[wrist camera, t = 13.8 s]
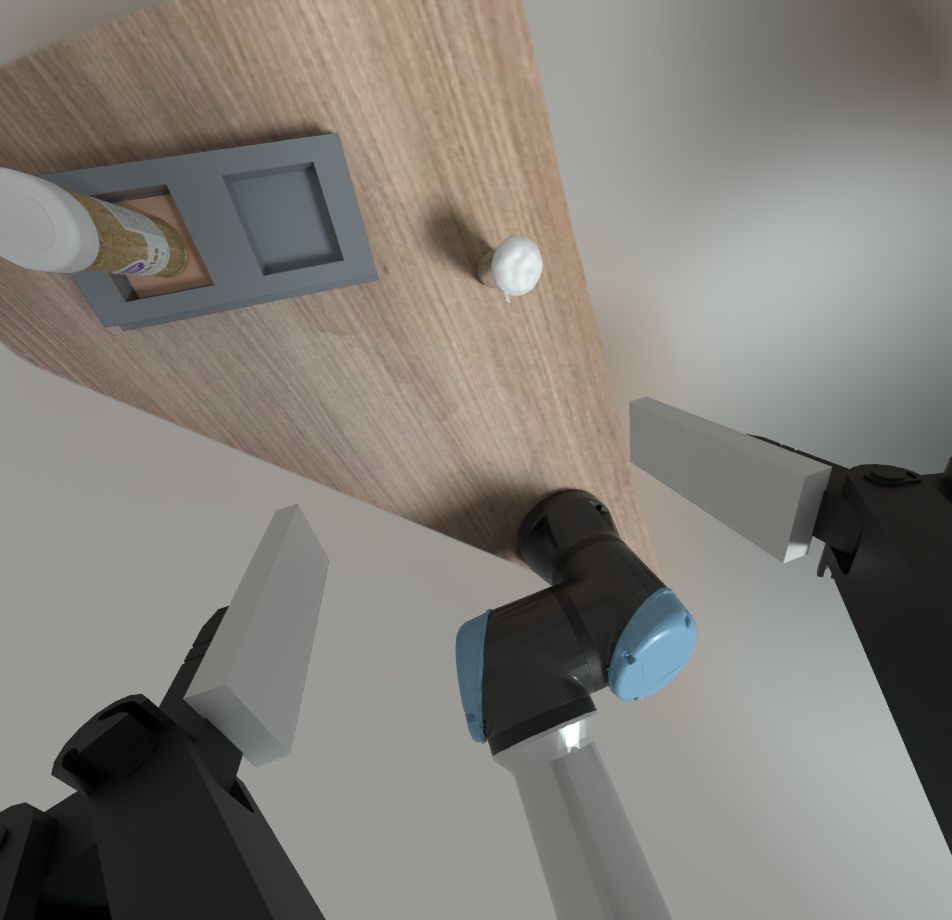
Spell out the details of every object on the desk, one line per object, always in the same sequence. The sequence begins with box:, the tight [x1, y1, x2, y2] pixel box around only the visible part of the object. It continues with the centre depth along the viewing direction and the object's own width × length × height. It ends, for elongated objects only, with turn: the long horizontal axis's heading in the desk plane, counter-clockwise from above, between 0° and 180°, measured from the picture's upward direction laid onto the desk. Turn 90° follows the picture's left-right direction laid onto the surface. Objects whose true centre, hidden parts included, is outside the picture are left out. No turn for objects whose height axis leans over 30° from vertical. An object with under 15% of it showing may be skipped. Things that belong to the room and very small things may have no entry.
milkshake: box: [477, 236, 543, 304], centre depth 34 cm, size 4×5×10 cm
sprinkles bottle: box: [0, 167, 189, 278], centre depth 24 cm, size 5×5×14 cm
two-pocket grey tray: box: [36, 133, 378, 331], centre depth 30 cm, size 11×23×3 cm, turn 100°
